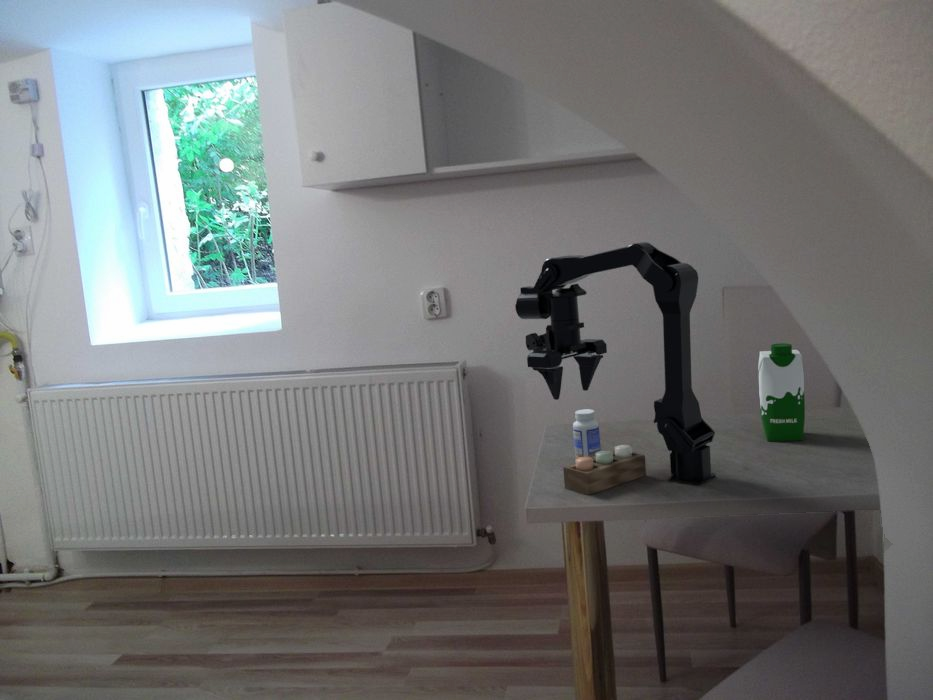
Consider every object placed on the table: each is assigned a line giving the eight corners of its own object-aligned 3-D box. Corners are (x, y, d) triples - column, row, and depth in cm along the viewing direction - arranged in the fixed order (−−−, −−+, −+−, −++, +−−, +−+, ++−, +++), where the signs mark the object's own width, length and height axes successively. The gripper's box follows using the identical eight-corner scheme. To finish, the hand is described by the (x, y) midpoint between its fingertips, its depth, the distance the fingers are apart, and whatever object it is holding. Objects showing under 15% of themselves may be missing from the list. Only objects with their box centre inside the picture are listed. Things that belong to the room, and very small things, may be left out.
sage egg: (604, 461, 160) (604, 450, 160) (616, 464, 158) (616, 452, 157) (592, 465, 158) (591, 453, 158) (604, 468, 156) (603, 456, 156)
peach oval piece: (585, 467, 157) (584, 456, 157) (597, 470, 155) (596, 459, 154) (572, 471, 156) (571, 460, 155) (584, 474, 153) (583, 463, 153)
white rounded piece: (623, 455, 163) (623, 444, 163) (635, 457, 161) (635, 446, 160) (611, 458, 161) (611, 447, 161) (624, 461, 159) (623, 450, 158)
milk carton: (763, 442, 175) (759, 347, 172) (759, 431, 183) (755, 341, 180) (808, 441, 172) (805, 345, 169) (802, 430, 181) (799, 338, 178)
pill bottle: (602, 452, 178) (599, 407, 176) (599, 460, 173) (596, 414, 171) (577, 453, 179) (573, 408, 178) (573, 460, 174) (570, 414, 173)
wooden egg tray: (621, 469, 165) (620, 449, 165) (646, 475, 160) (644, 454, 160) (564, 487, 157) (563, 467, 156) (588, 495, 152) (587, 473, 151)
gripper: (564, 312, 181) (570, 383, 183) (503, 325, 169) (511, 401, 171) (605, 312, 173) (611, 386, 175) (545, 326, 160) (552, 405, 163)
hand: (571, 394), depth 171 cm, fingers open, 9 cm apart
